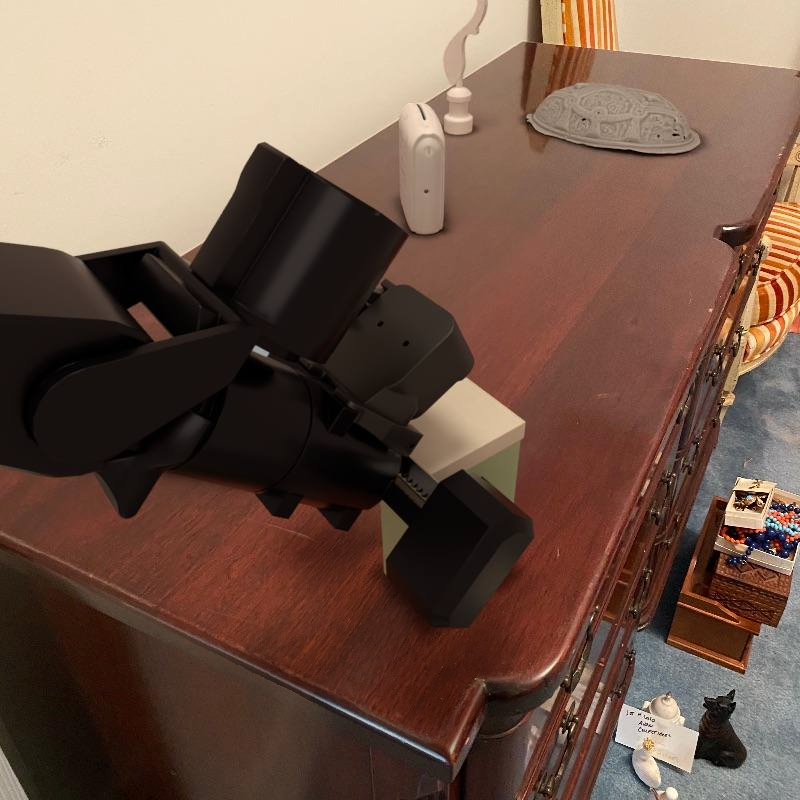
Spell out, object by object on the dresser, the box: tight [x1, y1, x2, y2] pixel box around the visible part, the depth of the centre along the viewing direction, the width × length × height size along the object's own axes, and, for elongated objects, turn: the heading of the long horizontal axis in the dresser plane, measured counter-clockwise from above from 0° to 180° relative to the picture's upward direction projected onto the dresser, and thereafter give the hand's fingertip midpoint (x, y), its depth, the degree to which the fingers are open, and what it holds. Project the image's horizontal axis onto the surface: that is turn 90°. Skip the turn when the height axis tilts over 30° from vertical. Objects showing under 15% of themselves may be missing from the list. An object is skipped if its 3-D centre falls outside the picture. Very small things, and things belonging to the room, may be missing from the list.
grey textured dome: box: [525, 82, 701, 155], centre depth 107 cm, size 16×25×7 cm, turn 54°
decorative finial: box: [442, 0, 489, 136], centre depth 102 cm, size 6×4×25 cm
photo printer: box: [398, 101, 446, 235], centre depth 85 cm, size 10×4×12 cm, turn 8°
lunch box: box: [379, 377, 526, 575], centre depth 45 cm, size 7×5×13 cm
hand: (454, 489), depth 45 cm, fingers open, 9 cm apart
